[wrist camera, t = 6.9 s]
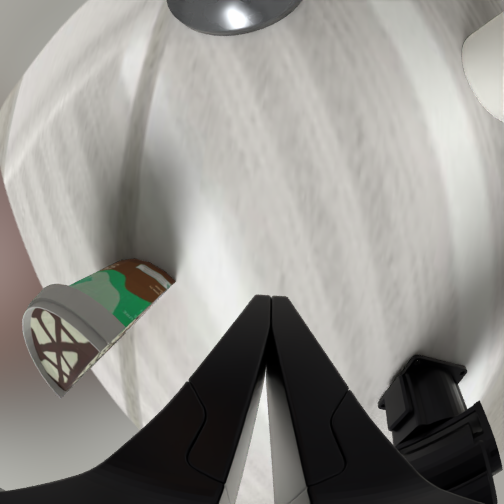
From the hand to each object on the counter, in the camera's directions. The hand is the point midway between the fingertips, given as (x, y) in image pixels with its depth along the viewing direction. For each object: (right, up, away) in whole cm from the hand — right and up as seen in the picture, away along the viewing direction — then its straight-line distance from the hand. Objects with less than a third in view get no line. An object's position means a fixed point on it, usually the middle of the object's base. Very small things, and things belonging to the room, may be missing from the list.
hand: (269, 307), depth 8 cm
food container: (-12, -1, +16) cm, 20 cm away
